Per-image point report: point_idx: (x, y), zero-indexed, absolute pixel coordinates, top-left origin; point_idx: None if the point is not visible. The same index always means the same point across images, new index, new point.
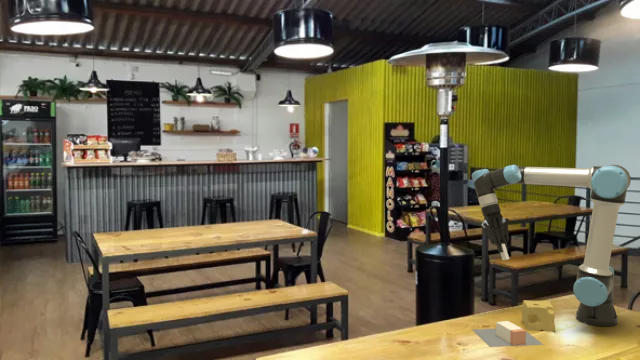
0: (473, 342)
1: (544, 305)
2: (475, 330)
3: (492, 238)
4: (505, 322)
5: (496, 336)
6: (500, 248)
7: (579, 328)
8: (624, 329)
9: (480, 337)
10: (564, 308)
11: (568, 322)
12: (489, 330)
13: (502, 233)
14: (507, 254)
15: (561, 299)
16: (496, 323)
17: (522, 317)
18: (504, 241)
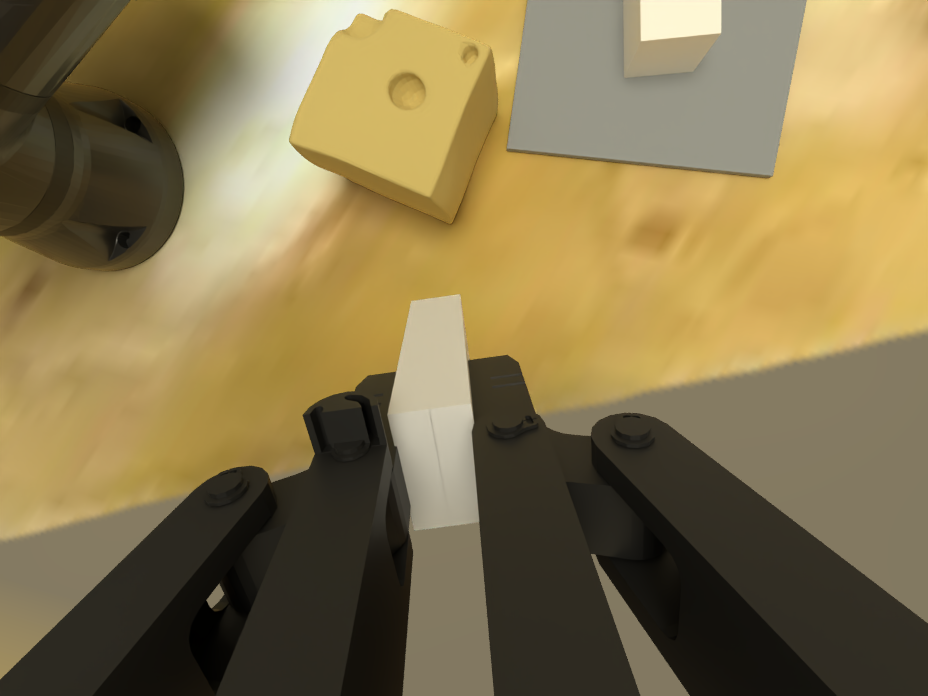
0: (852, 19)
1: (368, 59)
2: (762, 156)
3: (780, 520)
4: (671, 16)
5: None
6: (507, 388)
7: (241, 102)
8: None
9: (794, 53)
10: (139, 376)
11: (239, 189)
12: (689, 141)
13: (283, 678)
14: (416, 322)
15: (74, 501)
16: (717, 36)
17: (460, 200)
18: (364, 453)
